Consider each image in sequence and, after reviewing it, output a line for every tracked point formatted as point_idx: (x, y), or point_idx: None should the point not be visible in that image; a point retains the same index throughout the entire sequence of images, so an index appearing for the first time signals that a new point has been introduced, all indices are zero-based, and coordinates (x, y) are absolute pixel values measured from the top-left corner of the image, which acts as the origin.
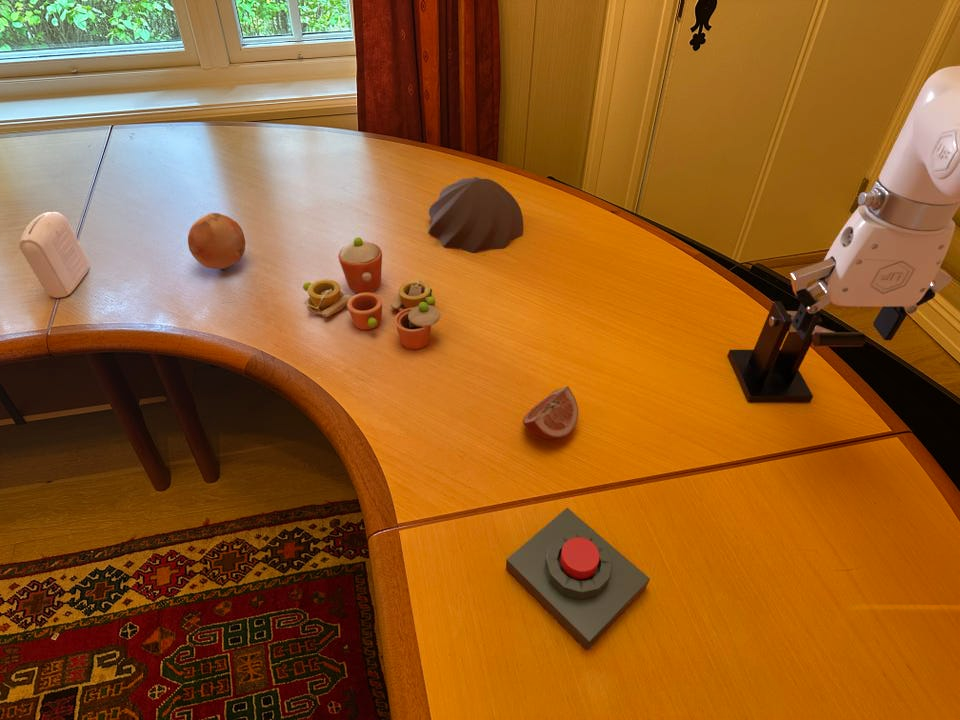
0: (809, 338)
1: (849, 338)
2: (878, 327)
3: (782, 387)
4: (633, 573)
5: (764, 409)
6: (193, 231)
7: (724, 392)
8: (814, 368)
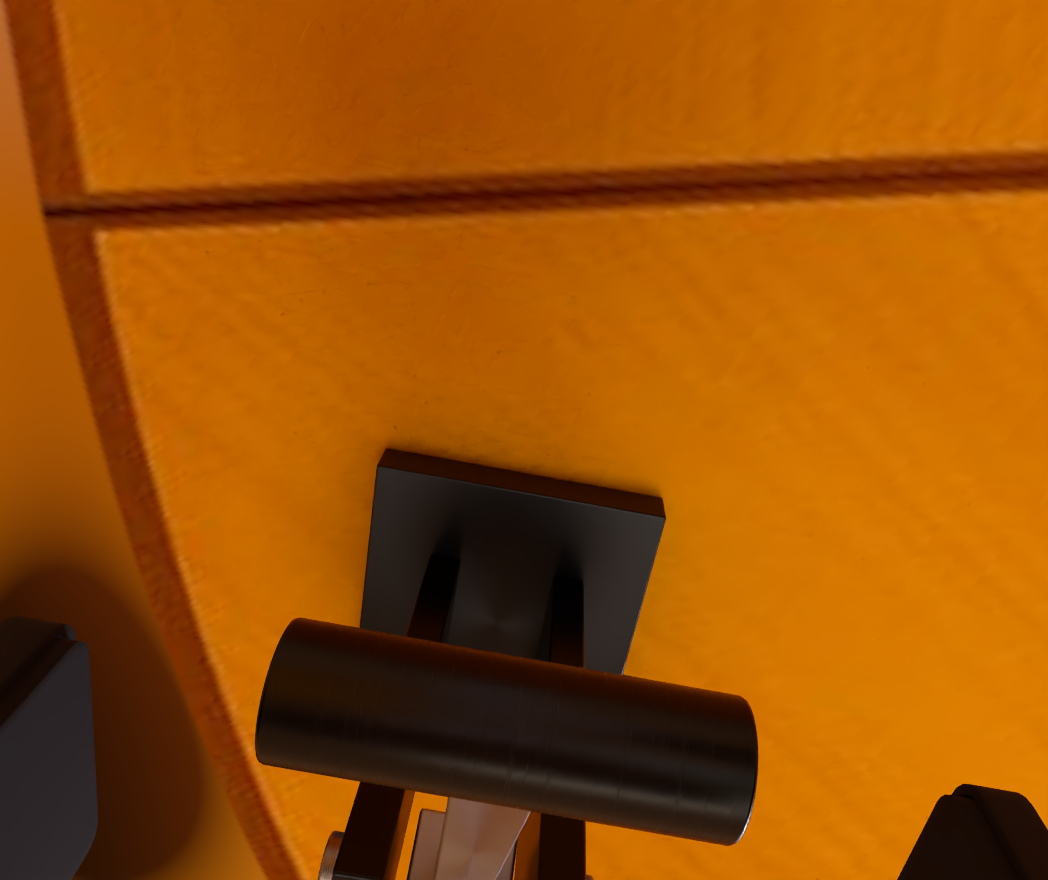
0: None
1: (439, 719)
2: (73, 792)
3: (490, 536)
4: None
5: (611, 449)
6: None
7: (729, 564)
8: (267, 609)
